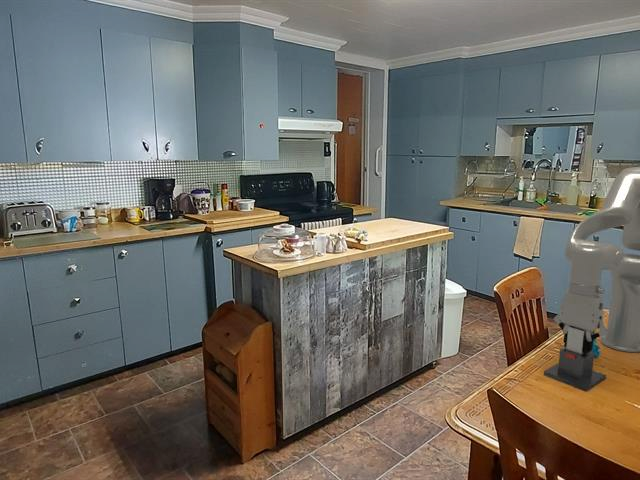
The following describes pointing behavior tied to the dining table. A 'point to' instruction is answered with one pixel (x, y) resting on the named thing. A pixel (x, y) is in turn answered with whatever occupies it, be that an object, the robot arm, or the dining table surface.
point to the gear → (595, 348)
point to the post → (576, 340)
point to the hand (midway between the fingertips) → (577, 348)
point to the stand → (575, 370)
